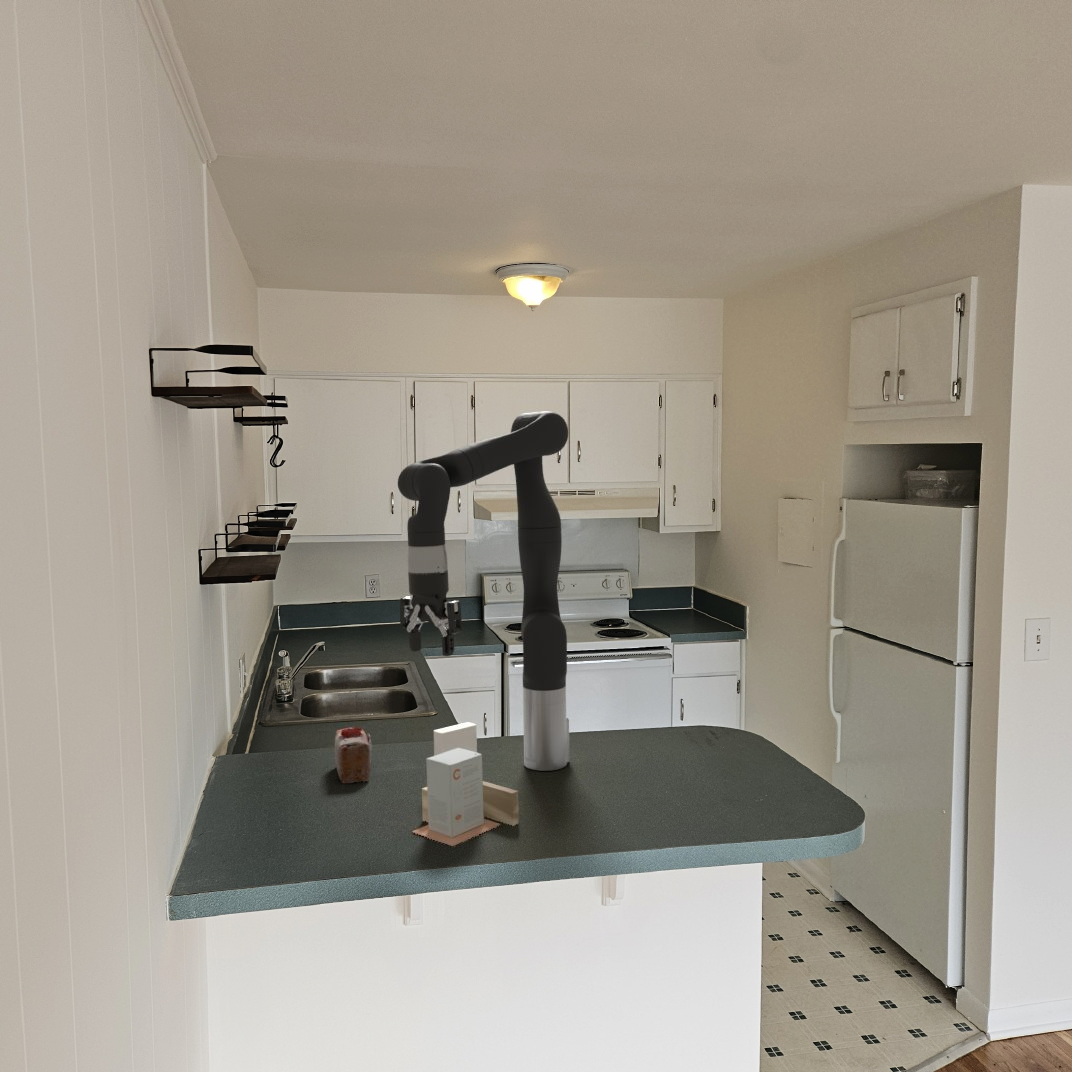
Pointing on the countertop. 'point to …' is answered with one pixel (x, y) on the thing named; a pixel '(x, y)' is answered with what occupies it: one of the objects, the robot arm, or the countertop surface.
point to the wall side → (424, 804)
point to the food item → (353, 755)
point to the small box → (455, 791)
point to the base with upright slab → (455, 738)
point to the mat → (459, 838)
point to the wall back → (500, 803)
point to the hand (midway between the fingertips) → (431, 653)
